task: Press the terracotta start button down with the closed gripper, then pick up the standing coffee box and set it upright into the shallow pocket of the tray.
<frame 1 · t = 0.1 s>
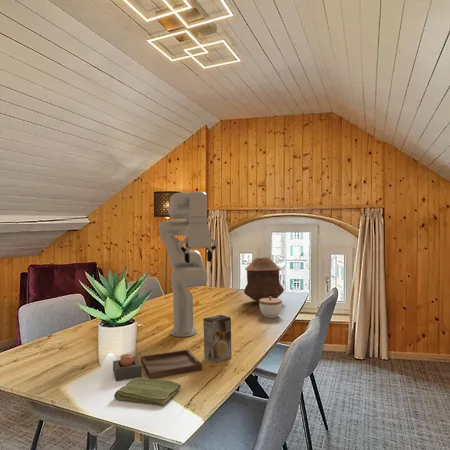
hand: (198, 262, 157), 37 cm above the table, tool pointing down, fingers open, 9 cm apart
coffee box: (217, 358, 147), on the table
button housing: (127, 374, 132), on the table
lidded bowl: (270, 316, 210), on the table
pottery vessel: (263, 303, 242), on the table
washcloth: (148, 396, 117), on the table
button cap: (126, 360, 132), point 5 cm above the table, slide at 0.0 cm
tray: (170, 366, 139), on the table
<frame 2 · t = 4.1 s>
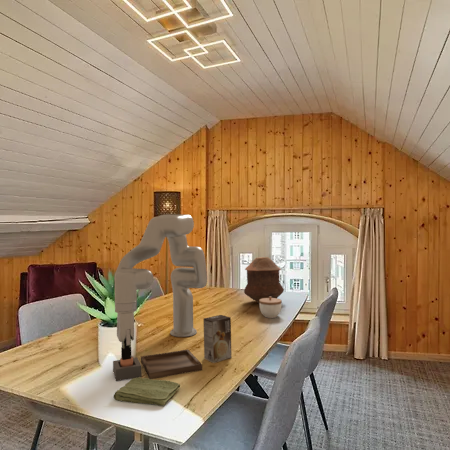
hand: (126, 358, 132), 6 cm above the table, tool pointing down, fingers closed
button cap: (126, 362, 132), point 4 cm above the table, slide at 0.8 cm, touching gripper
everything else where it was.
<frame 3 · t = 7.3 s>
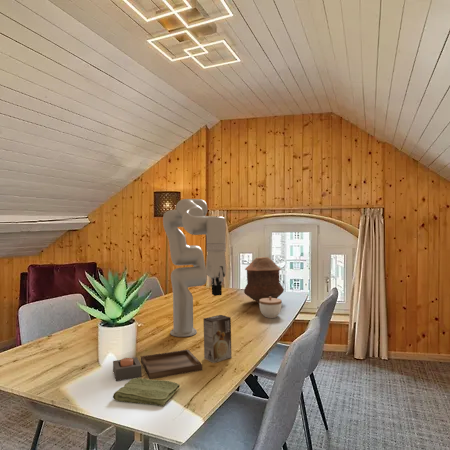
hand: (216, 294, 146), 25 cm above the table, tool pointing down, fingers closed
button cap: (126, 364, 132), point 4 cm above the table, slide at 1.4 cm
everything else where it was.
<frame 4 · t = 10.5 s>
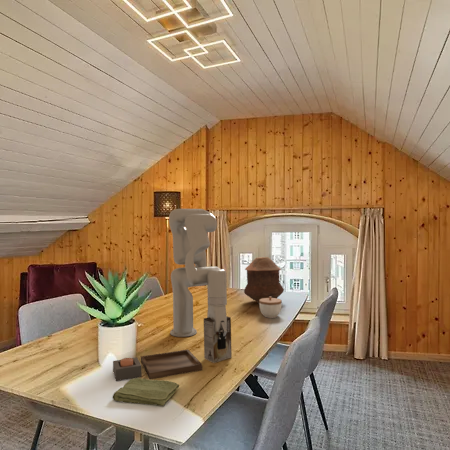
hand: (217, 345, 147), 5 cm above the table, tool pointing down, fingers closed on coffee box, 7 cm apart
coffee box: (217, 358, 147), on the table, touching gripper
everything else where it was.
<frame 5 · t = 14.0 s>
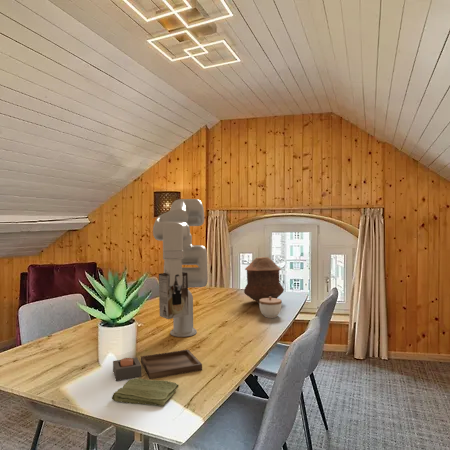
hand: (173, 302, 140), 24 cm above the table, tool pointing down, fingers closed on coffee box, 7 cm apart
coffee box: (174, 316, 140), point 18 cm above the table, touching gripper
everything else where it was.
when the fingers open (7 cm above the table, at t = 17.9 s): coffee box drops 1 cm, resting on tray.
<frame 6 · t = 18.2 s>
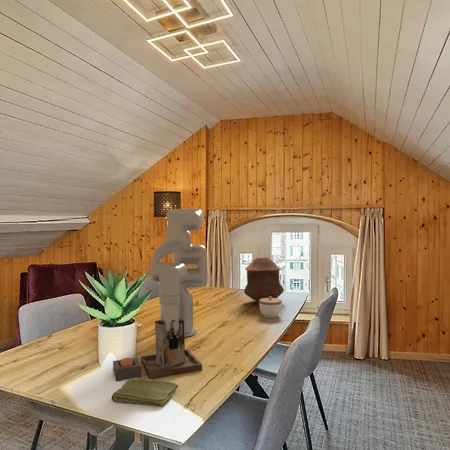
hand: (170, 344, 139), 8 cm above the table, tool pointing down, fingers open, 9 cm apart
coffee box: (170, 363, 140), point 1 cm above the table, touching tray
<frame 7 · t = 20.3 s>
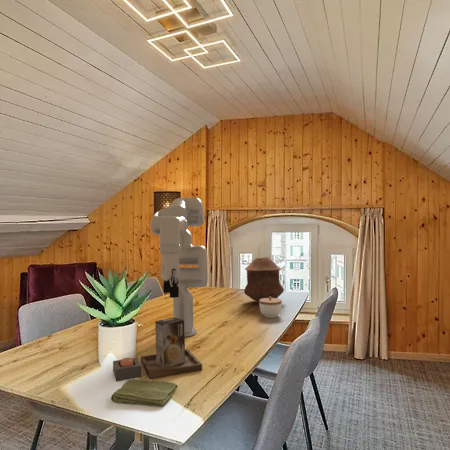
hand: (170, 294, 140), 26 cm above the table, tool pointing down, fingers open, 9 cm apart
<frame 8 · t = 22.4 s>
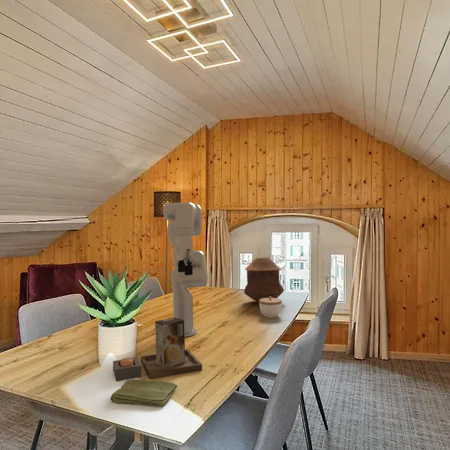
hand: (185, 273, 155), 32 cm above the table, tool pointing down, fingers open, 9 cm apart
at the end: button cap slide at 1.4 cm; coffee box inside the target area on the tray (0.1 cm from its centre), point 0.8 cm above the tray's base; coffee box tilted 0° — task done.
